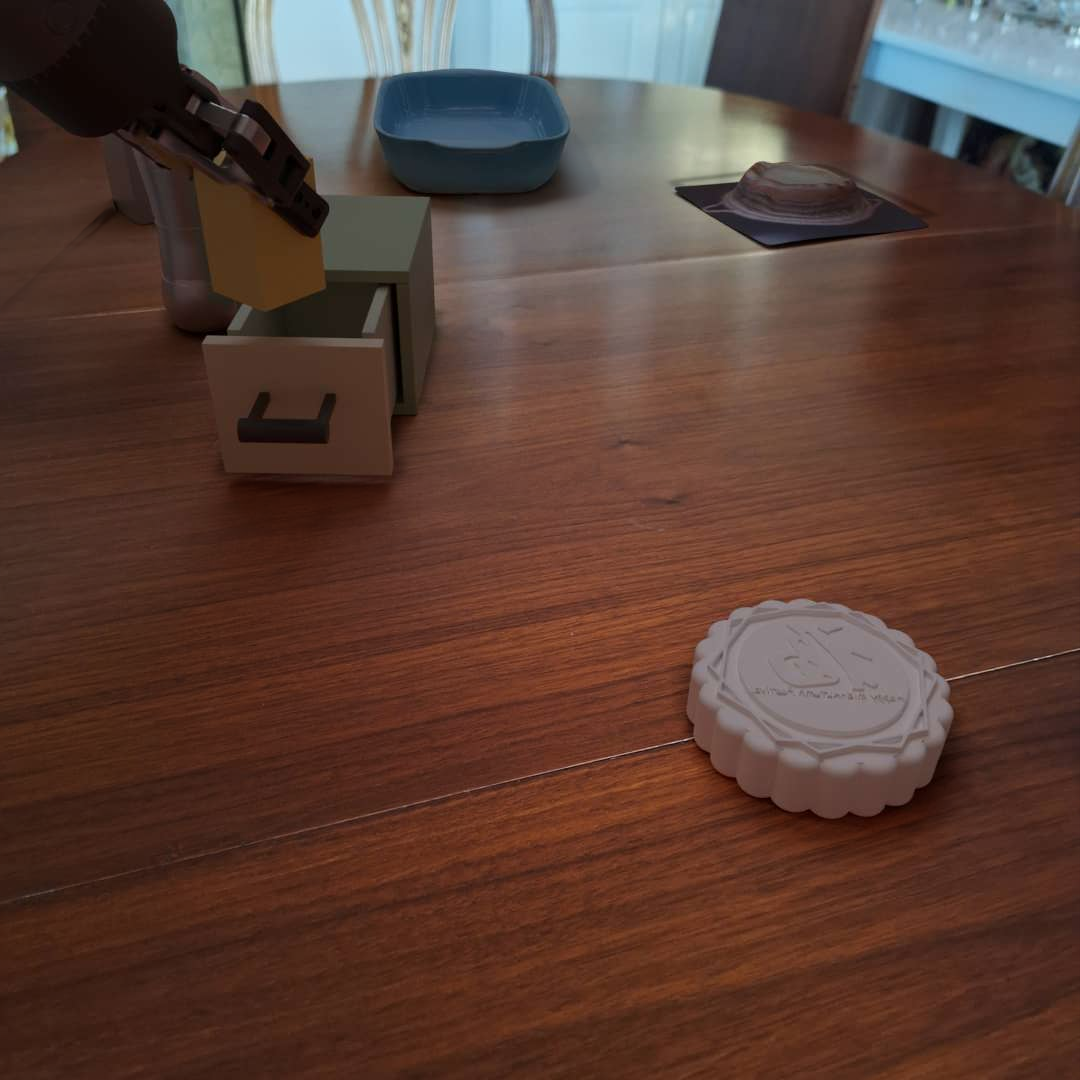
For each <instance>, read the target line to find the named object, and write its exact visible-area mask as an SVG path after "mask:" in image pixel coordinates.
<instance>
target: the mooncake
mask: <svg viewBox="0 0 1080 1080" xmlns="http://www.w3.org/2000/svg"><path fill="white" fill-rule="evenodd" d="M937 672H938V667H937V663H936V661H935V660H934V658H933V657H932V655H930V654H928V653H927V652H925V651H923V650H921V649H919V648H916V644H915V642H914V640H913V639H912V638H911V636H910V635H908V634H907V633H905V632H904V631H901V630H898V629H893V628H888V626H887V625H886V623H885V622H884V621H883V620H882V619H880V618H879V617H877V616H876V615H872V614H870V613H869V614H868V613H864V612H863V611H862V610H861V611H859V610H852V609H851V608H849V607H848V606H845V605H843V604H841V603H828V602H827V601H820V602H816V601H813V600H811V599H806V598H797V599H793V600H790V601H789V602H784V601H781V600H776V599H769V600H764V601H763V602H760V603H759V604H758V605H754V606H753V607H747V606H746V607H745V606H744V607H739V608H736V609H735V610H733V611H732V612H731V613H730V614H729V616H728V618H727V619H721V620H719V621H716V622H714V623H713V624H711V625H710V626H709V628H708V630H707V636H706V638H704V639H702V640H701V641H699V642H698V643H697V644H696V646H695V649H694V656H693V662H692V668H691V675H690V681H689V687H688V694H687V695H688V696H687V697H688V698H687V701H686V702H687V703H686V715H687V718H688V719H689V721H690V722H691V723H692V724H693V733H692V734H693V735H692V736H693V739H694V742H695V744H696V745H697V746H698V747H699V748H700V749H701V750H703V751H705V752H707V753H709V759H710V763H711V765H712V766H713V768H714V769H715V770H716V771H717V772H718V773H720V774H721V775H723V776H725V777H729V778H734V779H735V778H736V783H737V784H738V787H740V789H741V790H742V791H743V792H744V793H746V794H748V795H749V796H751V797H755V798H760V799H765V798H770V800H771V801H772V802H773V803H774V804H775V805H776V806H777V807H778V808H780V809H782V810H784V811H786V812H790V813H801V812H805V811H807V810H810V811H811V812H812V813H813V814H815V815H817V816H818V817H821V818H824V819H828V820H835V819H840V818H842V817H844V816H846V815H847V814H848V813H851V814H853V815H855V816H858V817H865V818H869V817H873V816H876V815H878V814H880V813H882V811H883V810H884V809H885V806H889V807H898V806H899V807H900V806H903V805H905V804H907V803H908V802H910V801H911V800H912V798H913V796H914V794H915V790H916V789H921V788H924V787H926V786H927V785H928V784H929V783H930V782H931V781H932V779H933V777H934V773H935V770H936V767H937V765H938V761H939V760H940V757H941V754H942V752H943V750H944V746H945V743H946V740H947V738H948V736H949V735H948V734H949V731H950V729H951V726H952V723H953V720H954V716H955V715H954V710H953V707H952V705H951V704H950V703H949V699H950V696H951V687H950V685H949V682H948V681H947V680H946V679H945V678H944V677H943V676H941V675H940V674H938V673H937Z"/></svg>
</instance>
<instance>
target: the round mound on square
mask: <svg viewBox="0 0 1080 1080" xmlns="http://www.w3.org/2000/svg"><path fill="white" fill-rule="evenodd" d="M674 190H675V191H676V192H677V193H679V194H680V195H682V196H683V197H685V198H686V199H688V200H689V201H690V202H692V203H693V204H694V205H695V206H697V207H698V208H699V209H701V210H702V211H703V212H705V213H706V214H707V215H709V216H711V217H712V218H714V219H716V220H718V221H720V222H721V223H724V224H726V225H728V226H729V227H730V228H733V229H735V230H737V231H739V232H740V233H743V234H745V235H747V236H748V237H750V238H752V239H754V240H756V241H758V242H760V243H762V244H764V245H767V246H770V245H771V246H774V245H780V244H784V243H785V244H786V243H791V242H799V241H804V240H805V241H806V240H814V239H821V238H822V239H823V238H831V237H832V238H833V237H841V236H854V235H869V234H881V233H893V232H902V231H911V230H917V229H923V228H927V227H929V225H930V224H929V223H928V222H926V221H925V220H923V219H921V218H920V217H919V216H917V215H914V214H913V213H911V212H909V211H908V210H907V209H904V208H903V207H901V206H899V205H897V204H896V203H894V202H892V201H890V200H888V199H886V198H884V197H882V196H879V195H877V194H875V193H872V192H871V191H868V190H866V189H864V188H863V187H862V188H861V187H860V186H858V185H857V183H856V181H854V180H853V179H851V178H843V177H842V176H840V174H837V173H834V172H831V171H830V170H828V169H825V168H821V167H818V166H815V165H801V164H798V163H795V162H789V161H779V162H769V161H766V160H765V161H764V160H761V161H757V162H755V163H754V164H752V165H751V166H750V167H749V168H748V169H747V170H746V171H745V172H744V174H743V175H742V177H741V178H740V180H739V181H731V182H723V183H722V182H720V183H709V184H708V183H707V184H695V185H694V184H693V185H683V186H676V187H674Z"/></svg>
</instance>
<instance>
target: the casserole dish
mask: <svg viewBox="0 0 1080 1080" xmlns="http://www.w3.org/2000/svg"><path fill="white" fill-rule="evenodd" d="M373 127H374V130H375V133H376V135H377V137H378V140H379V143H380V146H381V149H382V152H383V154H384V157H385V160H386V162H387V164H388V166H389V169H390V170H391V172H392V173H393V175H394V176H395V178H396V179H397V180H398V182H400V183H402V184H403V185H404V186H406V187H407V189H410V190H411V191H414V192H417V193H421V194H422V193H423V194H448V195H472V194H478V195H497V194H498V195H499V194H503V195H504V194H521V193H527V192H532V191H535V190H536V189H537V190H538V188H539V187H541V186H543V185H545V183H547V182H549V180H550V179H551V178H552V177H553V175H554V173H555V171H556V169H557V167H558V165H559V163H560V159H561V157H562V154H563V150H564V147H565V144H566V141H567V138H568V137H569V133H570V131H571V123H570V118H569V115H568V114H567V111H566V109H565V107H564V105H563V102H562V99H561V98H560V96H559V93H558V92H557V90H556V88H555V86H553V84H552V83H551V82H550V81H549V80H547V79H545V78H543V77H540V76H537V75H533V74H527V73H520V72H519V73H518V72H517V73H516V72H510V71H501V70H494V69H481V68H440V69H432V70H423V71H422V70H421V71H412V72H404V73H403V72H402V73H397V74H394V75H391V76H388V77H387V78H385V79H384V80H383V81H382V83H381V84H380V85H379V88H378V91H377V97H376V103H375V107H374V113H373Z"/></svg>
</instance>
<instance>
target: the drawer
mask: <svg viewBox="0 0 1080 1080" xmlns="http://www.w3.org/2000/svg"><path fill="white" fill-rule="evenodd" d="M325 283H326V289H324V290H321V291H318V292H316V293H313V294H311V295H308V296H306V297H303V298H300V299H298V300H295V301H293V302H290V303H288V304H285V305H283V306H280V307H277V308H275V309H272V310H270V311H267V312H263V311H261V310H258V309H256V308H253V307H251V306H248V305H246V304H242V306H241V307H240V309H239V311H238V312H237V314H236V316H235V317H234V319H233V321H232V322H231V324H230V326H229V327H227V328H226V333H227V335H206V336H205V337H204V340H203V341H202V342H201V349H202V354H203V359H204V364H205V370H206V376H207V380H208V386H209V392H210V397H211V402H212V408H213V413H214V419H215V424H216V425H215V426H216V429H217V435H218V441H219V446H220V451H221V456H222V462H223V463H222V464H223V467H224V472H225V473H236V474H238V473H241V474H287V475H288V474H289V475H291V474H292V475H340V476H341V475H342V476H343V475H345V476H346V475H347V476H356V475H357V476H392V474H393V469H394V453H393V440H392V427H391V421H392V416H393V415H392V413H393V409H394V405H395V401H396V397H397V393H398V389H399V385H400V381H401V377H402V368H401V353H400V337H399V322H398V306H397V291H396V283H356V282H325Z"/></svg>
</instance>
